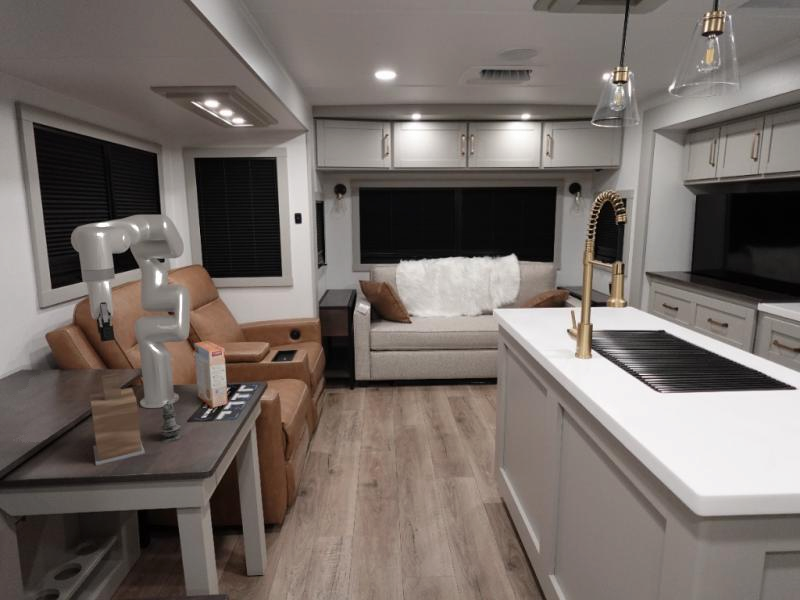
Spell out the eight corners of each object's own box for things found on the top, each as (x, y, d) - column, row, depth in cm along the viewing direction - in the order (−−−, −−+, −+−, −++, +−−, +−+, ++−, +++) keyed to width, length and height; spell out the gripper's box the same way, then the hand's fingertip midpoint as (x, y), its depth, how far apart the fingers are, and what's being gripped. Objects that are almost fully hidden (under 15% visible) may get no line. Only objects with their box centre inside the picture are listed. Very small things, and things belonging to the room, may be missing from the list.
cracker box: (229, 404, 177) (225, 347, 173) (212, 409, 173) (207, 351, 169) (214, 393, 187) (209, 339, 183) (197, 397, 183) (193, 342, 179)
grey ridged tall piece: (175, 432, 156) (172, 395, 153) (185, 437, 152) (182, 400, 150) (157, 438, 151) (153, 401, 149) (166, 444, 147) (162, 406, 145)
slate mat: (93, 448, 145) (93, 446, 145) (139, 437, 152) (139, 435, 152) (96, 465, 136) (95, 463, 135) (144, 453, 142) (144, 451, 142)
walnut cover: (96, 446, 145) (87, 374, 141) (137, 436, 151) (129, 368, 147) (98, 461, 137) (89, 385, 132) (141, 450, 142) (134, 378, 138)
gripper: (80, 272, 139) (88, 331, 143) (83, 281, 125) (92, 346, 129) (111, 270, 143) (118, 327, 147) (117, 278, 129) (125, 341, 133)
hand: (106, 336), depth 138 cm, fingers open, 9 cm apart
